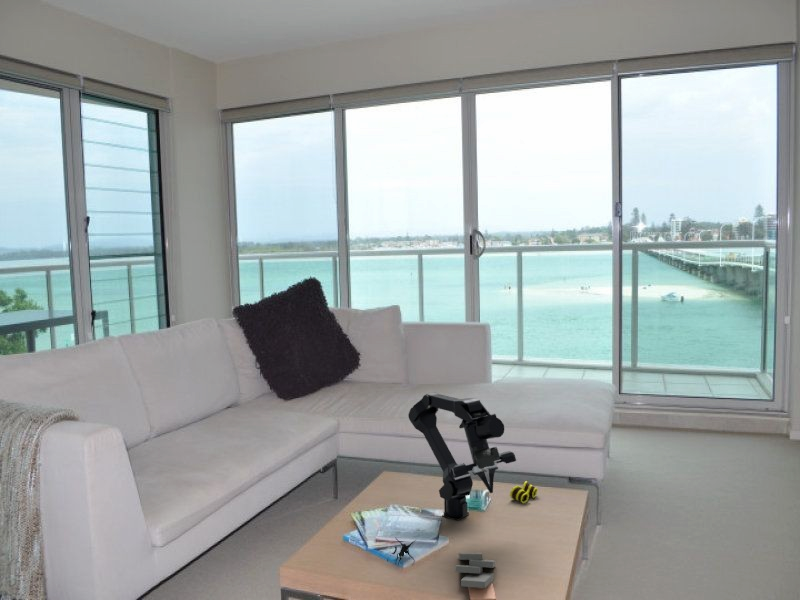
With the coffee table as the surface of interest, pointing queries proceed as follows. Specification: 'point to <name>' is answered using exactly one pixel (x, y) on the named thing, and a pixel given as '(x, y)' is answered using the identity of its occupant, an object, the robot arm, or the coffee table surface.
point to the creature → (403, 549)
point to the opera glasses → (523, 492)
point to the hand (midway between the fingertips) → (491, 492)
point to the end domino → (482, 593)
